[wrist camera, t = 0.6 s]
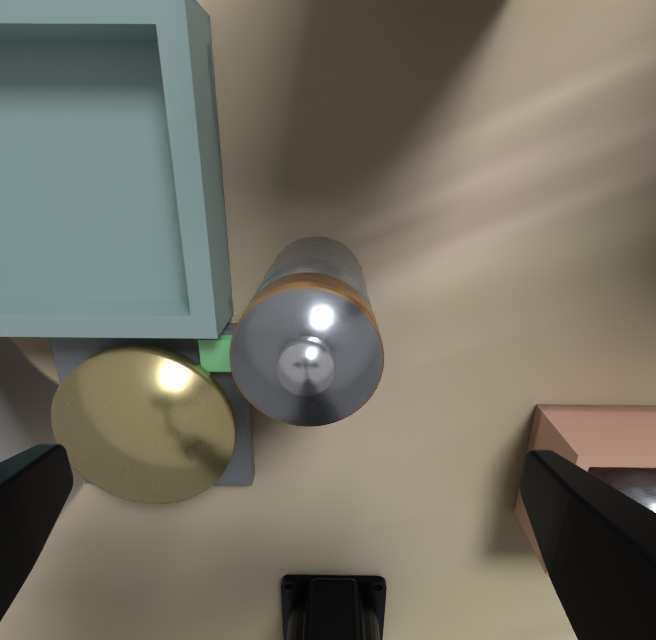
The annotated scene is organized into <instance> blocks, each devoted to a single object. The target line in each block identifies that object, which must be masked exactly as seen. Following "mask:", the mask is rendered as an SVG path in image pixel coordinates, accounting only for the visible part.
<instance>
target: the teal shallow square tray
mask: <svg viewBox="0 0 656 640" xmlns="http://www.w3.org/2000/svg"><path fill="white" fill-rule="evenodd" d="M232 315H233V303H232V290H231V278H230V266H229V253H228V241H227V228H226V216H225V203H224V191H223V178H222V166H221V154H220V141H219V129H218V116H217V104H216V91H215V79H214V66H213V54H212V42H211V29H210V17H209V15H208V13H207V12H206V11H205V10H204V9H203V8H202V7H201V6H200V4H199V3H198V2H197V1H196V0H0V337H85V338H194V339H218V337H219V336H220V334H221V332H222V331H223V329H224V328H225V326H226V324H227V323H228V321H229V320H230V318H231V317H232Z"/></svg>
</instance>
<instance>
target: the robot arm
mask: <svg viewBox="0 0 656 640" xmlns="http://www.w3.org/2000/svg"><path fill="white" fill-rule="evenodd" d="M72 486H73V475H72V471H71V467H70V463H69V459H68V455H67V451H66V448H65V447H64V446H63V445H61V444H38V445H36V446H34V447H32V448H30V449H28V450H25V451H23V452H21V453H19V454H17V455H15V456H13V457H11V458H9V459H6V460H4V461H2V462H0V621H1V620H2V618H3V616H4V615H5V613H6V612H7V610H8V608H9V607H10V605H11V603H12V602H13V600H14V598H15V597H16V595H17V594H18V592H19V590H20V589H21V587H22V585H23V584H24V582H25V580H26V579H27V577H28V575H29V573H30V572H31V570H32V568H33V566H34V565H35V563H36V561H37V559H38V557H39V555H40V553H41V551H42V549H43V547H44V545H45V543H46V541H47V539H48V537H49V535H50V533H51V531H52V529H53V527H54V525H55V523H56V521H57V519H58V517H59V515H60V513H61V511H62V508H63V506H64V504H65V502H66V500H67V498H68V496H69V494H70V492H71V490H72ZM520 494H521V497H522V500H523V503H524V506H525V509H526V512H527V515H528V518H529V521H530V524H531V527H532V529H533V532H534V535H535V538H536V541H537V544H538V547H539V550H540V553H541V556H542V558H543V561H544V564H545V567H546V569H547V572H548V575H549V577H550V579H551V582H552V584H553V586H554V589H555V591H556V593H557V595H558V597H559V599H560V602H561V604H562V606H563V608H564V610H565V612H566V615H567V617H568V619H569V621H570V623H571V626H572V628H573V630H574V632H575V634H576V636H577V639H578V640H656V513H655V512H654V511H652V510H650V509H649V508H647V507H645V506H644V505H642V504H640V503H639V502H637V501H635V500H634V499H632V498H630V497H629V496H627V495H625V494H624V493H622V492H620V491H619V490H617V489H615V488H614V487H612V486H610V485H609V484H607V483H605V482H604V481H602V480H600V479H599V478H597V477H595V476H594V475H592V474H590V473H589V472H587V471H585V470H584V469H582V468H580V467H579V466H577V465H575V464H574V463H572V462H570V461H569V460H567V459H565V458H564V457H562V456H561V455H559V454H557V453H556V452H554V451H552V450H548V449H531V450H529V451H528V452H527V453H526V456H525V460H524V465H523V470H522V475H521V480H520ZM281 594H282V614H283V635H284V640H382V638H383V626H384V613H385V600H386V581H385V579H384V578H383V577H380V576H329V575H286V576H284V577H283V578H282V584H281Z"/></svg>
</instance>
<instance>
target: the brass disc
mask: <svg viewBox="0 0 656 640" xmlns="http://www.w3.org/2000/svg"><path fill="white" fill-rule="evenodd" d="M51 423H52V428H53V433H54V436H55V439H56V441H57V444H61V445H63V446H64V447H65V448H66V451H67V455H68V459H69V463H70V464H71V465H72V466H73V467H74V468H75V470H76V471H78V472H79V473H80V474H81V475H82V476H83V477H84V478H86V479H87V480H88V481H90V482H91V483H92V484H94V485H96V486H97V487H99V488H101V489H102V490H104V491H106V492H109V493H111V494H113V495H116V496H118V497H121V498H124V499H128V500H132V501H137V502H143V503H155V504H157V503H171V502H178V501H181V500H185V499H188V498H191V497H193V496H196V495H198V494H200V493H202V492H203V491H205V490H206V489H208V488H209V487H210V486H212V485H213V484H214V483H215V482H216V481H217V480H218V479H219V478H220V477H221V475H222V474H223V473H224V471H225V470H226V468H227V466H228V464H229V461H230V458H231V455H232V452H233V449H234V446H235V443H236V437H237V422H236V416H235V412H234V409H233V406H232V403H231V401H230V399H229V397H228V395H227V394H226V392H225V391H224V389H223V387H222V386H221V385H220V384H219V382H218V381H217V380H216V379H215V378H214V377H213V376H212V375H211V374H210V373H209V372H208V371H207V370H206V369H204V368H203V367H202V366H200V365H199V364H198V363H196V362H195V361H193V360H191V359H189V358H188V357H186V356H184V355H182V354H179V353H177V352H175V351H172V350H169V349H165V348H162V347H158V346H152V345H144V344H126V345H119V346H114V347H110V348H107V349H104V350H101V351H99V352H97V353H95V354H93V355H91V356H90V357H88V358H87V359H85V360H84V361H83V362H81V363H80V364H79V365H78V366H76V367H75V368H74V369H73V370H72V371H71V372H70V373H69V374H68V375H67V376H66V377H65V378H64V379H63V381H62V382H61V383H60V385H59V387H58V389H57V391H56V393H55V395H54V399H53V402H52V408H51Z"/></svg>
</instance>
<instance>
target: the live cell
mask: <svg viewBox="0 0 656 640" xmlns="http://www.w3.org/2000/svg"><path fill="white" fill-rule="evenodd" d="M229 358H230V367H231V371H232V375H233V378H234V380H235V382H236V384H237V387H238V388H239V390H240V391H241V393H242V394H243V396H244V397H245V398H246V399H247V400H248V401H249V402H250V403H251V404H252V405H253V406H254V407H255V408H256V409H258V410H259V411H260V412H262V413H263V414H265V415H267V416H269V417H270V418H273V419H275V420H277V421H280V422H283V423H286V424H291V425H296V426H321V425H327V424H330V423H334V422H337V421H339V420H342V419H344V418H346V417H348V416H350V415H352V414H353V413H354V412H356V411H357V410H359V409H360V408H361V407H362V406H363V405H364V404H365V403H366V402H367V401H368V400H369V399H370V397H371V396H372V395H373V393H374V392H375V390H376V388H377V386H378V384H379V382H380V379H381V376H382V372H383V366H384V350H383V344H382V340H381V336H380V333H379V329H378V325H377V322H376V318H375V315H374V313H373V311H372V308H371V304H370V300H369V296H368V292H367V288H366V284H365V281H364V277H363V273H362V269H361V266H360V264H359V262H358V260H357V259H356V257H355V256H354V255H353V253H352V252H351V251H350V250H349V249H348V248H346V247H345V246H344V245H342V244H341V243H339V242H337V241H335V240H332V239H329V238H324V237H308V238H303V239H300V240H297V241H295V242H293V243H291V244H290V245H288V246H287V247H286V248H285V249H284V250H282V251H281V253H280V254H279V255H278V256H277V258H276V260H275V261H274V263H273V265H272V267H271V268H270V270H269V272H268V274H267V276H266V277H265V279H264V281H263V283H262V285H261V286H260V288H259V290H258V292H257V294H256V295H255V296H254V298H253V299H252V300H251V302H250V303H249V305H248V307H247V308H246V310H245V312H244V314H243V315H242V317H241V319H240V321H239V322H238V324H237V326H236V328H235V331H234V333H233V336H232V339H231V343H230V351H229Z"/></svg>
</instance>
